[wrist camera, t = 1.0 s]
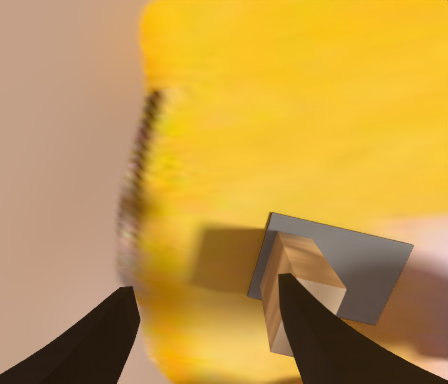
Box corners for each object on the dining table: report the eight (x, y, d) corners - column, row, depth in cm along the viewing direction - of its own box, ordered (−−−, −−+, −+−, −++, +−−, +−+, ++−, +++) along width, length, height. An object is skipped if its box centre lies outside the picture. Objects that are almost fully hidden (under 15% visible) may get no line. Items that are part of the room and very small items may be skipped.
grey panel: (412, 244, 21) (414, 245, 21) (373, 323, 24) (375, 325, 24) (272, 212, 21) (272, 213, 21) (247, 295, 24) (247, 296, 23)
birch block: (260, 286, 23) (270, 351, 16) (277, 230, 22) (296, 278, 15) (292, 293, 23) (315, 362, 16) (311, 238, 22) (346, 289, 15)
